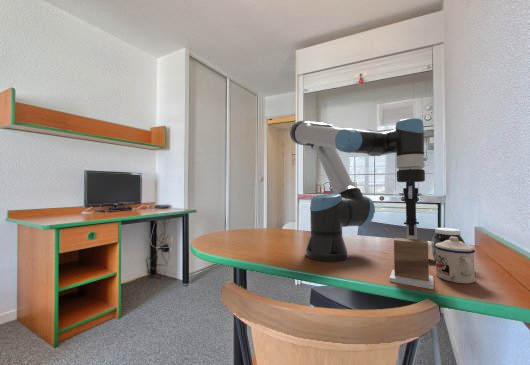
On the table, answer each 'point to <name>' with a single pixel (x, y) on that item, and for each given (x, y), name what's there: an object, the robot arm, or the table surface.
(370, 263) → the table surface
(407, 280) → the grey board
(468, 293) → the table surface
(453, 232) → the spread jar
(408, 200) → the robot arm
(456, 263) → the teacup with lid
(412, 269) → the walnut slab
